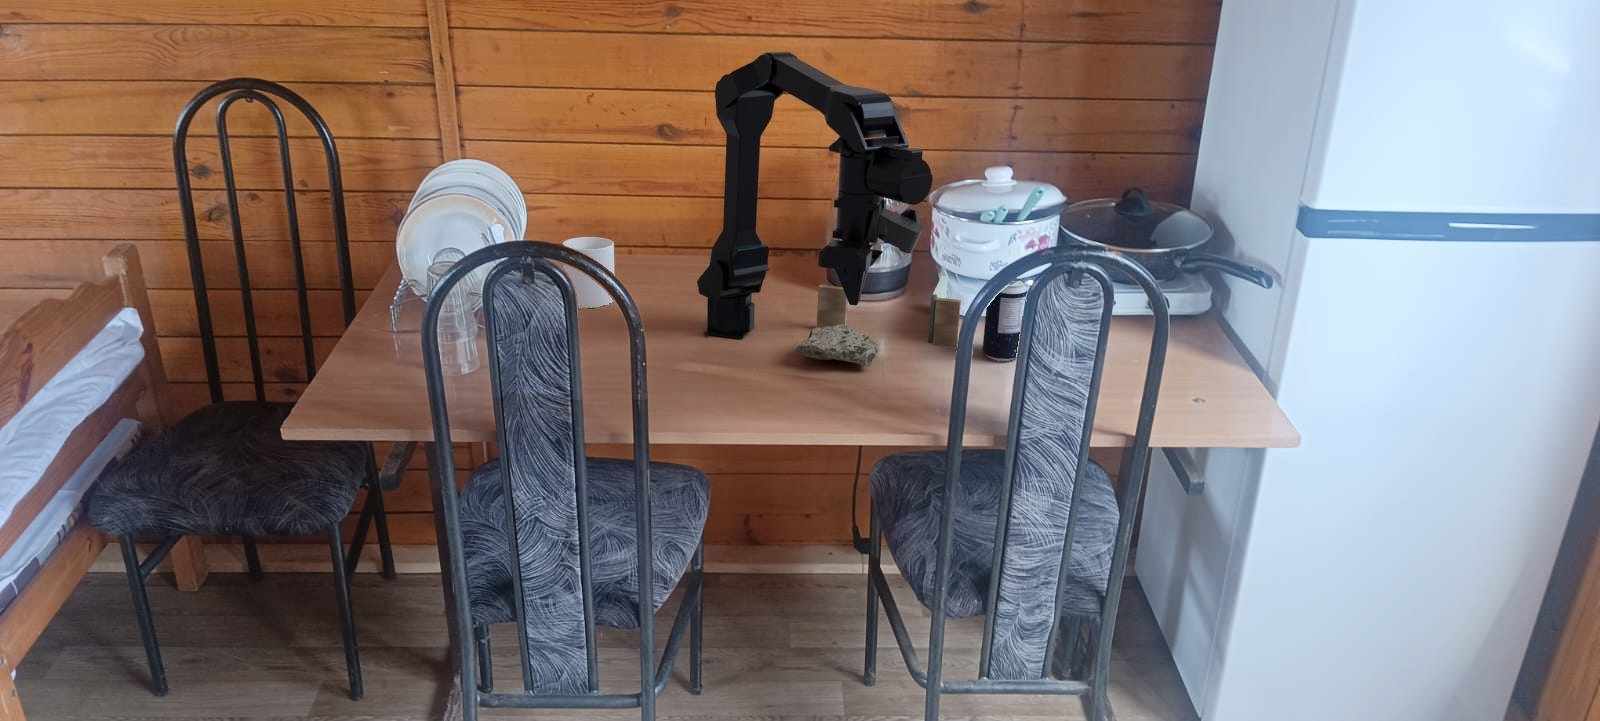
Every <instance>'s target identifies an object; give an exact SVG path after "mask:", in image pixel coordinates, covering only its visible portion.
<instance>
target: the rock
mask: <svg viewBox="0 0 1600 721" xmlns="http://www.w3.org/2000/svg"><path fill="white" fill-rule="evenodd" d="M878 351H879V346H878V343H877V341H876V340H874V339H873V338H872V337H871V336H870V335H866V334H865V333H863V332H861V331H855V330H854V329H853V328H852V327H850V326H849V325H844V324H840V325H834V326H827V327H823V328H820V327H817V326H816V327H813V328H811V330H810V333H809V336H808V338H806V339H804V340H803V341H802V342H801V343H799V344H798V346H796V348H795V352H796V353H797V354H800V355H801V356H804V357H807V358H811V359H813V360H823V361H832V360H836V361H843V362H847V363H855V364H858V365H861V366H866V367H870V366H872V363H873V360H874V359H875V358H876V354H878Z"/></svg>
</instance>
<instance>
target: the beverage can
mask: <svg viewBox="0 0 1600 721" xmlns="http://www.w3.org/2000/svg"><path fill="white" fill-rule="evenodd" d="M1020 279H1021V280H1019V281H1017V282H1016V283H1014V284H1012V285H1010V286H1008V287H1007V288H1005V289H1004V290H1003V291H1001V292H1000V293H999V294H998V295H997V296H996V297H995V299H994V300H993V301H992V302H991V303H990V305H989V306H988V307H987V306H986V307H987V308H986V309H985V319H984V329H983V340H982V349H981V350H982V353H983V354H984V355H985V356H986V357H987V358H988V357H989V358H988V359H990V358H991V359H990V360H992V359H994V360H993V361H995V360H999V361H998V362H1000V361H1007V362H1011V361H1010V360H1012V361H1014V360H1016V359H1017V358H1016V353H1017V347H1018V341H1019V334H1020V328H1021V320H1022V312H1023V305H1024V301H1025V297H1026V294H1027V295H1028V289H1027V287H1026V281H1025V280H1024V279H1022V278H1020ZM1015 358H1016V359H1015ZM1013 359H1014V360H1013Z"/></svg>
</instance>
